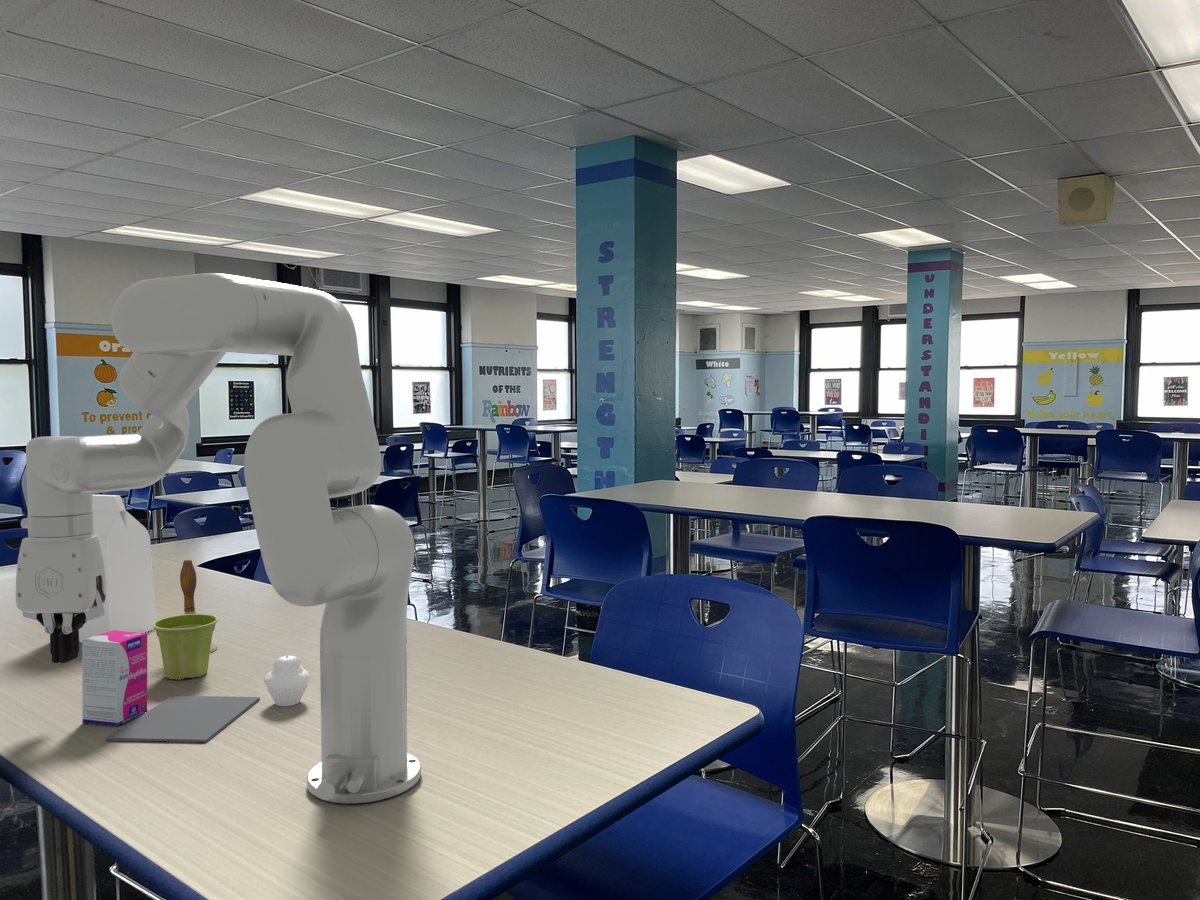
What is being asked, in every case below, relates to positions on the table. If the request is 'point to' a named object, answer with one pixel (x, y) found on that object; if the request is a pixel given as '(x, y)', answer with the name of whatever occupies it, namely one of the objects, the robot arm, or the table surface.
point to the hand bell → (190, 590)
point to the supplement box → (114, 677)
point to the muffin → (287, 681)
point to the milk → (122, 570)
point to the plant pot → (185, 644)
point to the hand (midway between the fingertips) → (65, 660)
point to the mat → (185, 719)
